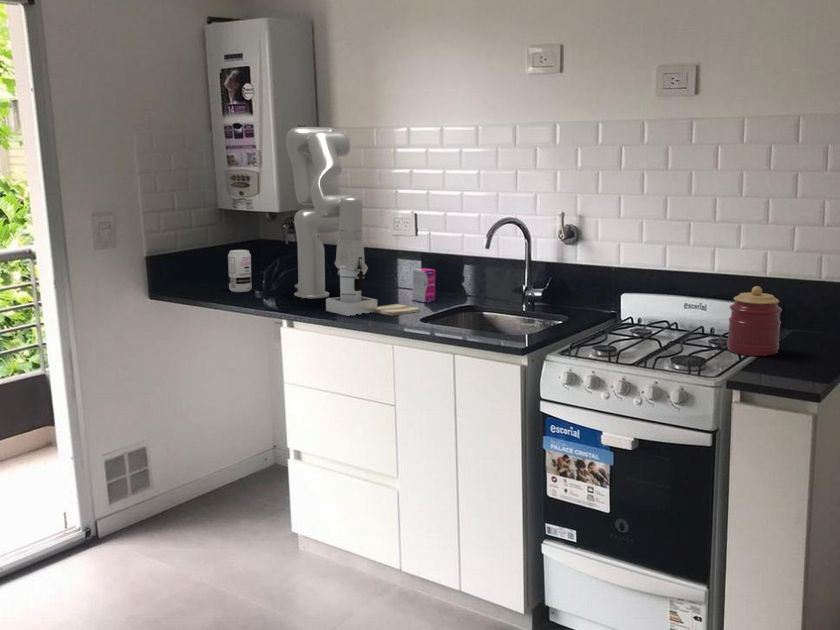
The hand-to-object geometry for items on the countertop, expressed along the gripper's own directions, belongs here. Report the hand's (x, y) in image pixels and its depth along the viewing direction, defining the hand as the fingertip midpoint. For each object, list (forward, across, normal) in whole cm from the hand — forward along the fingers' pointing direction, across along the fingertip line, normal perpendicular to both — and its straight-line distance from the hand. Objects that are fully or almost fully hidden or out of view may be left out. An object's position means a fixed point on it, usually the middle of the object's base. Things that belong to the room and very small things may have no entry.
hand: (350, 288), depth 291 cm
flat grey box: (+8, -3, 0) cm, 8 cm away
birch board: (+7, +10, +11) cm, 16 cm away
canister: (+6, +116, +46) cm, 125 cm away
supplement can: (+9, -60, -6) cm, 61 cm away
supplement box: (+8, +2, +31) cm, 32 cm away
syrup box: (+7, 0, 0) cm, 7 cm away
